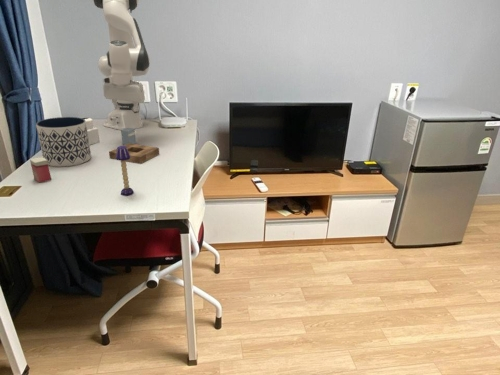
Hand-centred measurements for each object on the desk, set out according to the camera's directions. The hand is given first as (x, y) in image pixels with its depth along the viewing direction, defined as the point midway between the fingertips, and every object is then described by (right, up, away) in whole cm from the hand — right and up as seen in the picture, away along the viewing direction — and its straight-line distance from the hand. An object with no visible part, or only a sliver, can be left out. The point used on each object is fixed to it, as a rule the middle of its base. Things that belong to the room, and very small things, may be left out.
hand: (125, 110), depth 161 cm
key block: (-1, -16, +7) cm, 17 cm away
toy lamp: (+16, -38, -41) cm, 59 cm away
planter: (-19, -25, -14) cm, 34 cm away
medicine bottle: (-21, -14, +9) cm, 27 cm away
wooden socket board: (+7, -22, -7) cm, 24 cm away
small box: (-18, -33, -34) cm, 51 cm away
